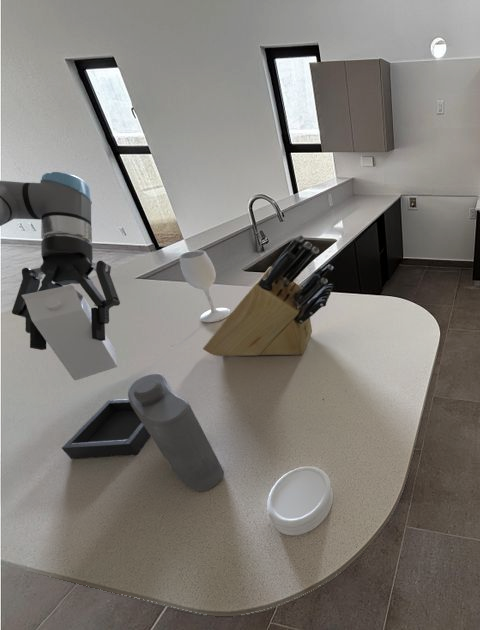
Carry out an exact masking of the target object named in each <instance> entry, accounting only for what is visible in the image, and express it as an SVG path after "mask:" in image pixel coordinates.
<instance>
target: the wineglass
mask: <svg viewBox="0 0 480 630" xmlns="http://www.w3.org/2000/svg"><path fill="white" fill-rule="evenodd" d="M178 259H179V265H180V269H181V273H182V275H183V277H184V280H185V281H186V283H187V284H189V285H190V286H191V287H193V288H195V289H199V290H202V291H203V292H204V294H205V296H206V299H207V301H208V305H209V310H207V311H205V312H204V313H203V314H201V315H200V318H199V320H200V321H201V322H203V323H215V322H220V321H223V320H225V319H227V318H228V317H229V315H230V314H231V310H230V309H229V308H226V307H216V306H215V304H214V301H213V299H212V297H211V294H210V288H211V287H212V286H213V285H214V284H215V281H216V280H217V279H216V278H217V273H216V269H215V267H214V263H213V262H212V260H211V258H210V256H209V255H208V253H207V252H206V251H205V250H201V249H199V250H198V249H197V250H190V251H189V250H188V251H186V252H183V253H181V254H180V255H179V258H178Z"/></svg>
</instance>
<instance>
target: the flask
mask: <svg viewBox="0 0 480 630" xmlns="http://www.w3.org/2000/svg"><path fill="white" fill-rule="evenodd" d="M127 397H128V398H127V399H129V402H130V404H131V406H132V408H133V409H134V411H135V412H136V414H137V416H138V417H139V419H140V420H141V422H142V423H143V425H144V426H145V428H146V429H147V431H148V433H149V434H150V436H151V437H150V438H151V439H152V440H153V442H154V443H155V446H156V447H157V448H158V449H159V451H160V453H161V454H162V456H163V457H164V459H165V460H166V462H167V464H168V465H169V467H170V468H171V469H172V471H173V473H174V475H175V476H176V477H177V479H179V481H180V482H181V483H182V484H183V485H184V486H186V487H187V488H189V489H190V490H192V491H194V492H205V491H208V490H210V489H212V488H214V487H215V486H217V484H219V483H220V481H222V478H223V477H224V473H225V471H224V469H223V467H222V465H221V462H220V461H219V459H218V457H217V455H216V453H215V451H214V449H213V447H212V445H211V443H210V441H209V440H208V437H207V435H206V433H205V432H204V430H203V427H202V426H201V424H200V422H199V420H198V418H197V416H196V414H195V412H194V411H193V409H192V407H191V404H190V403H189V401H187V400H186V399H183V398H181V397H180V396H178V395H177V394H175V393H174V392H173V389H172V388H171V386H170V384H169V382H168V380H167V378H166V377H165V375H164V374H162V373H151V374H148V375H144V376H142V377H140V378H138V379H136V380H134V382H133V383H131V384H130V386H129V388H128V391H127Z"/></svg>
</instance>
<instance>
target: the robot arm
mask: <svg viewBox="0 0 480 630" xmlns="http://www.w3.org/2000/svg"><path fill="white" fill-rule="evenodd" d="M90 191H91V190H90V186H89V185H88V183H86V181H85V180H83V179H81V178H80V177H79V176H76V175H74V174H70V173H67V172H62V171H52V172H46V173H44V174H43V175H42V176H41V179H40V182H33V181H31V182H27V181H26V182H25V181H11V180H0V227H2V226H3V225H5V224H8V223H9V222H11V221H13V220H38V221H39V220H41V224H40V225H41V226H40V228H41V231H40V234H41V235H40V238H41V242H40V244H41V247H40V249H41V250H40V251H41V253H40V255H41V258H42V264H41V265H40V267H37V268H29V267H23V268H22V269H21V277H22V280H21V283H20V286H19V288H18V291H17V295H16V298H15V300H14V304H13V307H12V310H11V314H12V315H14V316H18V317H22V318H24V319H25V332H26V333H27V334H29V348H30V349H34V350H40V351H45V350H47V341H46V340H45V339H44V337H43V336H42V334H41V333H40V331H39V330H38V329H37V327H36V326H35V324H34V323H33V322H32V320H31V317H30V314H29V311H28V308H27V305H26V303H25V300H24V299H23V297H22V295H24V294H29V293H34V292H39V291H44V290H49V289H53V288H58V287H63V286H68V285H80V286H81V288H82V289H83V291H85V294H86V295H87V296H88V297H89V298H90V300H91V301H92V303H94V306H95V307H90V308H91V319H92V339H96V340H99V341H104V340H105V334H106V325H107V324H109V323H110V309H111V308H113V307H118V306H120V304H121V301H120V298H119V295H118V293H117V290H116V287H115V284H114V281H113V278H112V276H111V269H112V267H111V265H110V264H108V263H106V262H105V261H103V260H98V261H96V262H93V261H94V260H93V259H94V258H93V257H94V254H93V245H92V244H93V230H92V229H93V228H92V204H93V202H92V199H91V198H92V197H91V192H90ZM93 271H94V272H96V276H97V279H98V281H99V284H100V287H101V290H102V293H103V295H102V293H101V292H100V290H98V288H97V286H96V285H95V284H94V281H93V280H92V279H91V278H90V274H92V273H93ZM43 275H44V277H43Z"/></svg>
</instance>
